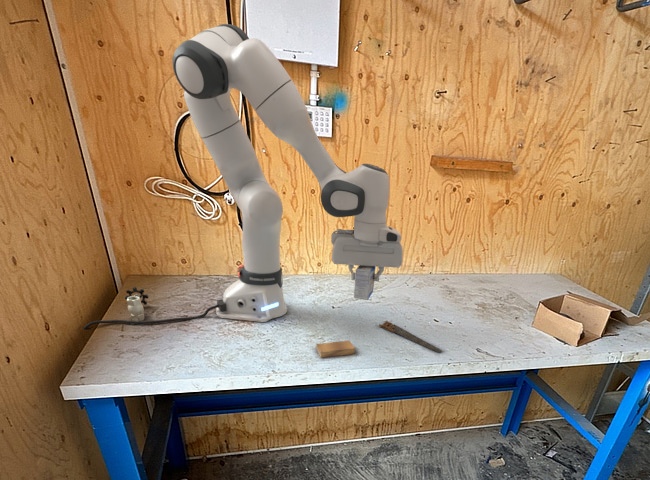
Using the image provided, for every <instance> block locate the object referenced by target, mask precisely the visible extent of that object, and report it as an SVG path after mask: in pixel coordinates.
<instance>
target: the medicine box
mask: <svg viewBox="0 0 650 480" xmlns="http://www.w3.org/2000/svg"><path fill="white" fill-rule="evenodd" d="M376 267H377V266H360V265H358V266H357V268H356V269H355V272H354V273H355V280H354V287H353V299H359V300H364V301H369V300H370V298H371V296H372V294H373V293H374V290H375V289H374V288H375V281H374V280H373V277H374V274H376Z"/></svg>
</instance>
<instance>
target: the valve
mask: <svg viewBox="0 0 650 480" xmlns="http://www.w3.org/2000/svg"><path fill="white" fill-rule="evenodd" d="M125 293H126V294H128V295H125V296H124V300H125V301H126V302H127V310H128V313H129V314H130V318H131V321H145V314H144V311H145V307H144V306H146V305H147V304H148V301H147V300H146V299H149V294H147V293H146V294H144V293H145V289H144V288H140V290H138V287H137V286H132V290H130V289H126V292H125ZM135 293H136V294H135ZM137 293H138V294H137ZM132 294H134V295H132ZM139 294H140V295H139ZM141 298H142V299H141Z"/></svg>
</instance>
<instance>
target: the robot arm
mask: <svg viewBox="0 0 650 480" xmlns="http://www.w3.org/2000/svg"><path fill="white" fill-rule="evenodd" d="M172 69H173V73H174V76H175V78H176V80H177V82H178V83H179V85H180V88H182V89H183V90H184V91H183V98H184V102H185V104H186V108H187V110H188V113H189V115H190V117H191V120H192V122H193V125H194V126H195V128H196V131H197V132H198V134H199V136H200V138H201V140H202V142H203V144H204V145H205V148H206V149H207V151H208V153H209V154H210V157H211V158H212V160H213V162H214V163H215V166H216V167H217V170H218V171H219V173H220V175H221V177H222V179H223V181H224V183H225V185H226V186H227V188H228V190H229V192H230V194H231V196H232V198H233V200H234V202H235V203H236V206H237V207H238V208H239V210H240V212H241V217H242V237H241V238H242V239H241V247H242V256H243V264H239V266H238V268H237V277H238V279H237V280H236V281H234V282H233V283H232V284H230V285H229V286H228V287H227V288H225V290H224V292H223V296H222V298H221V299H216V304H215V305H212V306H210V307H208V308H207V309H206V310H205V312H204V313H202V314H200V315H197V316H191V317H190V316H189V317H174V318H166V319H158V320H142V321H133V320H125V319H108V320H107V319H106V320H94V321H91V322H88V323H87V324H85V325H84V326H83V327H82V330H88V328H89V327H91V326H92V325H97V324H120V323H121V324H132V325H150V324H162V323H163V324H164V323H170V322H178V321H179V322H181V321H189V320H190V321H191V320H197V319H201V318H204V317H206V316H207V315H208V313H209V312H211V311H212V310H214V309H215V311H216V312H215V313H216V316H217V317H218V318H221V319H228V320H229V319H230V320H238V321H246V322H247V321H249V322H257V323H267V322H268V321H270V320H273V319H276V318H280V317H282V316H284V315H285V314H287V312H288V308H287V304H286V300H285V296H284V291H283V284H284V277H283V276H284V275H283V268H282V267H281V251H280V250H281V248H280V247H281V245H280V243H281V242H280V241H281V233H282V232H281V231H282V220H283V219H282V217H283V215H284V214H283V212H284V209H283V202H282V199H281V196H280V195H279V194H278V192H277V191H276V190H275V189H274V188H273V187H272V186H271V185H270V184H269V182H268V180H267V179H266V176H265V173H264V171H263V168H262V166H261V164H260V161H259V159H258V156H257V153H256V150H255V149H254V148H255V147H254V146H253V144H252V141H251V140H250V138H249V135H248V134H247V131H246V130H245V128H244V125H243V123H242V121H241V119H240V117H239V115H238V113H237V111H236V109H235V107H234V104H233V102H232V99H231V92H232V89H233V90H234V89H235V90H237V91H238V92H240V93H241V94H242V95H243V96H244V97H245V98H246V100H247V101H248V103H249V104H250V106H251V108H252V109H253V111H254V112H255V113H256V115H257V116H258V118H259V120H261V122H262V123H263V124H264V126H265V127H267V129H268V130H269V131H270V132H271V133H272V134H273V135H274V136H275V137H276V138H277V139H279V140H281V141H282V142H285V143H286V144H288V145H289V146H291V147H292V148H293V149H295V151H296V152H298V154H299V156H301V158H302V159H303V161H304V162H305V163H306V165H307V167H308V168H309V169H310V171H311V172H312V174H313V176H314V177H315V178H316V180H317V183H318V185H319V188H320V203H321V206H322V208H323V210H324V211H325V212H326V213H327V214H328V215H330V216H332V217H334V218H347V217H354V218H353V229H342V228H338V229H336V230H334V231H333V232H332V233H331V236H330V238H331V239H330V242H331V244H332V250H331V262H332V263H333V264H334V265H344V266H345V265H346V266H347V267H348V270H349V273H350V275H351V276H350V278H351V281H355V272H354V270H353V269H354V268H355V267H354V266H376V267H378V271H376V273H375V274H374V277H373V280H374V282H380V277H381V275H382V274H383V273H384V271H385V268H395V269H399V268H400V267H401V266H402V265H403V257H404V256H403V255H404V254H403V253H404V251H403V246H402V243H401V241H402V234H401V233H400V231H399V230H398V229H397V228H394V227H392V226H389V225H388V224H387V209H388V207H389V203H390V202H389V201H390V189H391V188H390V183H391V182H390V176H389V174H388V172H387V171H386V170H385V169H383V168H382V167H379V166H377V165H374V164H371V163H361V164H360V165H359V166H358V167H356V168H355V169H353V170H351V171H348V172H346V171H345V170H343V169H342V168H340V167H339V166H338V164H336V162H335V161H334V160H333V158H332V156H331V155H330V154H329V152H328V151H327V148H326V147H325V146H324V144H323V143H322V141H321V140H320V138H319V137H318V134H317V133H316V130H315V128H314V125H313V122H312V119H311V117H310V114H309V111H308V108H307V106H306V103H305V101H304V99H303V97H302V94H301V93H300V92H299V90H298V87H297V86H296V84H295V82H294V81H293V80H292V77H291V76H290V75H289V73H288V71H287V70H286V69H285V67H284V66H283V64H282V63H281V62H280V60H279V59H278V58H277V57H276V55H275V54H274V53H273V51H272V50H271V49H270V48H269V47H268V46H267V45H266V44H265V43H264V42H263V41H262V40H261V39H258V38H250V37H249V36H248V35H247V33H246V32H245V31H244V30H243V29H242V28H241V27H239V26H237V25H234V24H229V23H221V24H219V25H216V26H214V27H209V28H206V29H203V30H202V31H201V30H200V32H199V33H197V34H196V35H195V36H192V37H191V38H190V39H187V40H184V41H183V42H182V43H180V44H179V45H178V47H177V48H176V49H175V51H174V53H173V55H172Z"/></svg>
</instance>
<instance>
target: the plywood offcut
mask: <svg viewBox="0 0 650 480" xmlns="http://www.w3.org/2000/svg"><path fill="white" fill-rule="evenodd" d="M315 350H316V352H317V353H318V355H319V357H320V358H321V359H323V358H330V357H338V356H339V357H340V356H347V355H348V356H349V355H355V354H356V348H355V346H354V345H353V343H352V341H351V340H342V341H332V342H323V343H316V345H315Z"/></svg>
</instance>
